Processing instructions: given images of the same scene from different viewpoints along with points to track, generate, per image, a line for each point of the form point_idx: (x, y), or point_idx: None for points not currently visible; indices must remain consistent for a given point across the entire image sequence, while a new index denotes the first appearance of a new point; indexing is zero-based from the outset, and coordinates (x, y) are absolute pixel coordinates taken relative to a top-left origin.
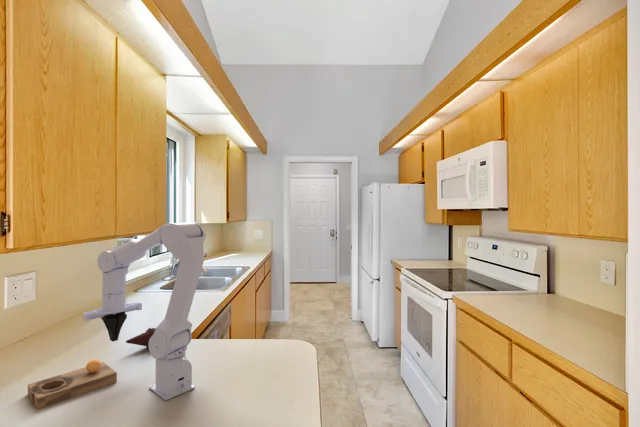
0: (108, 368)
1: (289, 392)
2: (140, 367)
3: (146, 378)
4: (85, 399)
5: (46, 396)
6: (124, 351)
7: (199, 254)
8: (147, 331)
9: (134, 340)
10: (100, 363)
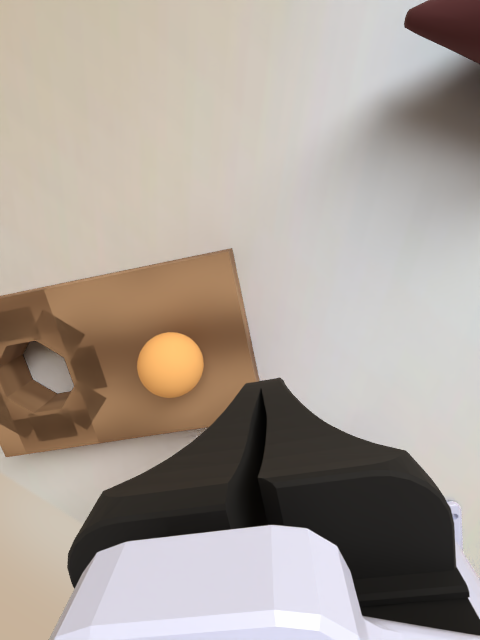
0: (239, 352)
1: None
2: (377, 321)
3: (362, 438)
4: (158, 459)
5: (31, 452)
6: (379, 9)
7: None
8: None
9: (466, 43)
10: (198, 380)
